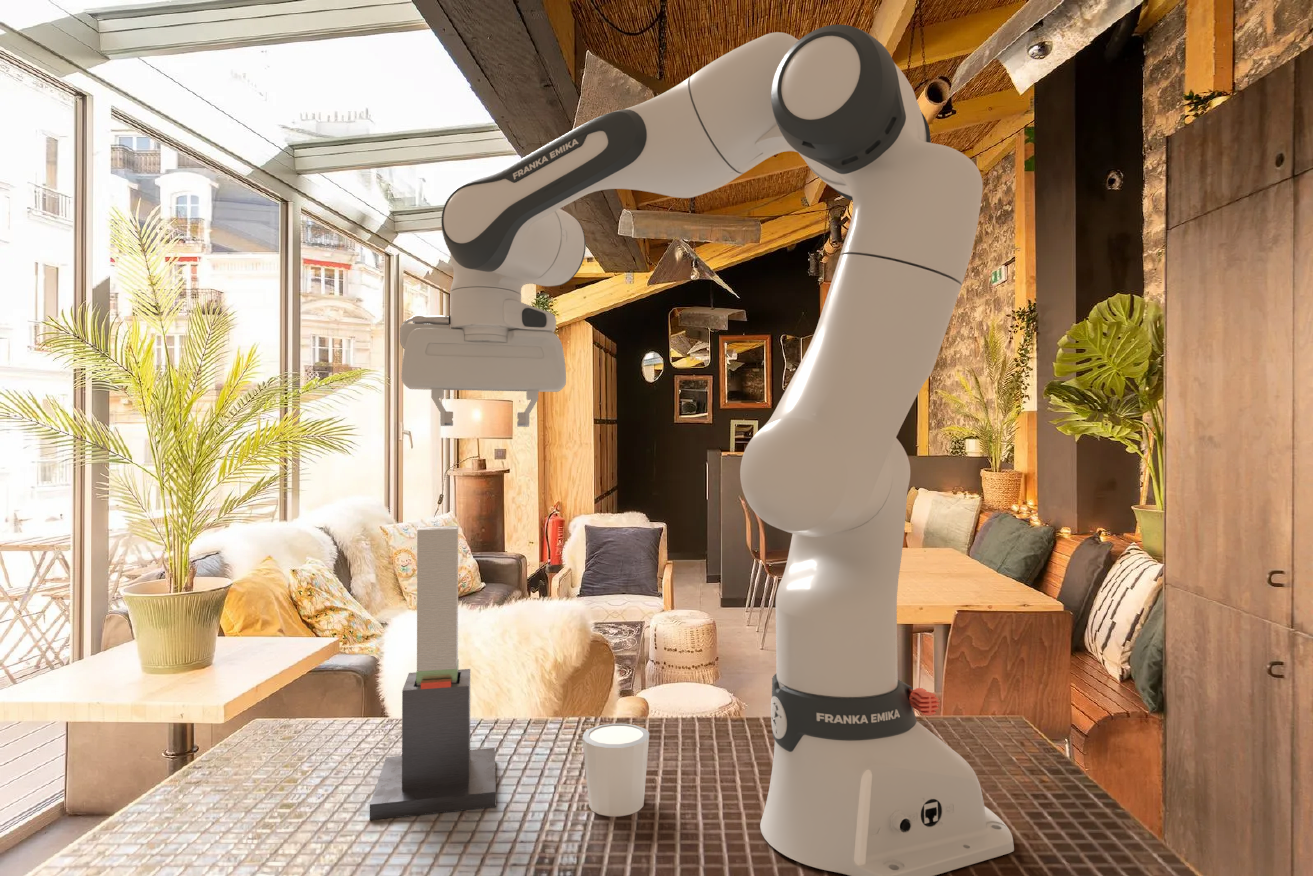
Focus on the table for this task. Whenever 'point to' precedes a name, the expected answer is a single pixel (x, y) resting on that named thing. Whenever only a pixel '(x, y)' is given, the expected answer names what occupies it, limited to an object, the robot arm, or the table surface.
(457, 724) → the sleeve stand
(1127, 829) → the table surface
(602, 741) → the white tapered cup
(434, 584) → the steel post
